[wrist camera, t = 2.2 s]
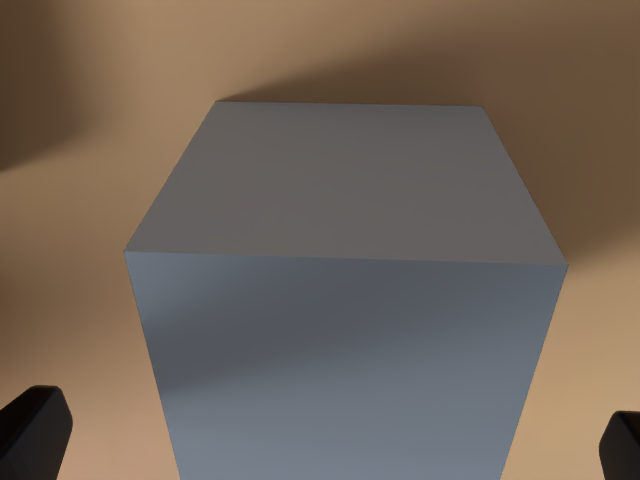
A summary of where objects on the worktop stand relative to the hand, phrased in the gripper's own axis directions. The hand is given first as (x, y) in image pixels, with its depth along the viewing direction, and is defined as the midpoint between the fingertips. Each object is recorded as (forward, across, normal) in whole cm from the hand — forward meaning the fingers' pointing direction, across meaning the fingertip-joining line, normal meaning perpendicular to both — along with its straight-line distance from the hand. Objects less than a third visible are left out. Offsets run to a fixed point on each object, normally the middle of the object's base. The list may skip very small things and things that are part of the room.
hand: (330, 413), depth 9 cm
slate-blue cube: (+6, 0, 0) cm, 6 cm away
